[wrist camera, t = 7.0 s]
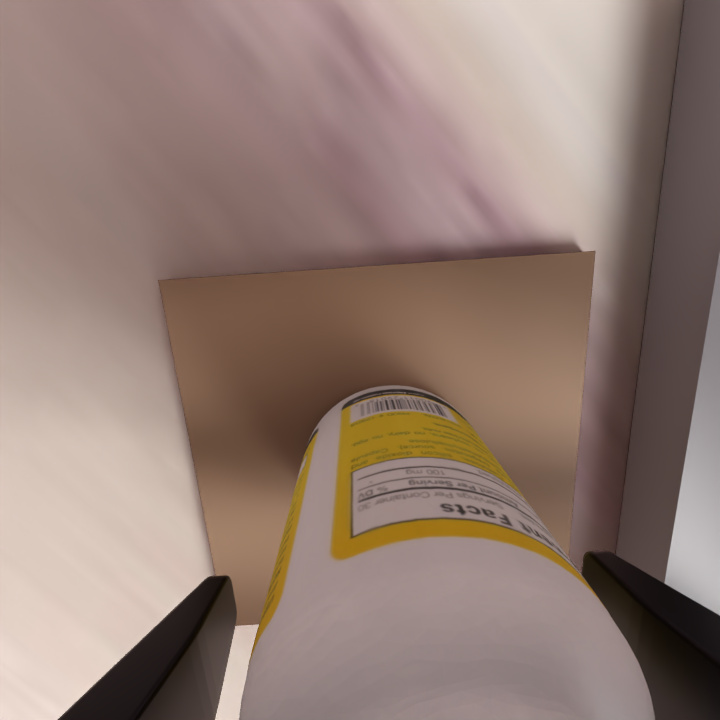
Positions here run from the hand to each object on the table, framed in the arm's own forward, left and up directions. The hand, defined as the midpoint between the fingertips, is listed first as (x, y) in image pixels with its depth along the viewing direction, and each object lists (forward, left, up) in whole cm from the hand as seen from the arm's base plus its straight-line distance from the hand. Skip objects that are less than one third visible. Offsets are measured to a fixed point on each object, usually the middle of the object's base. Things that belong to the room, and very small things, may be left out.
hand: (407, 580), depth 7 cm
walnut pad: (0, 0, -5) cm, 5 cm away
